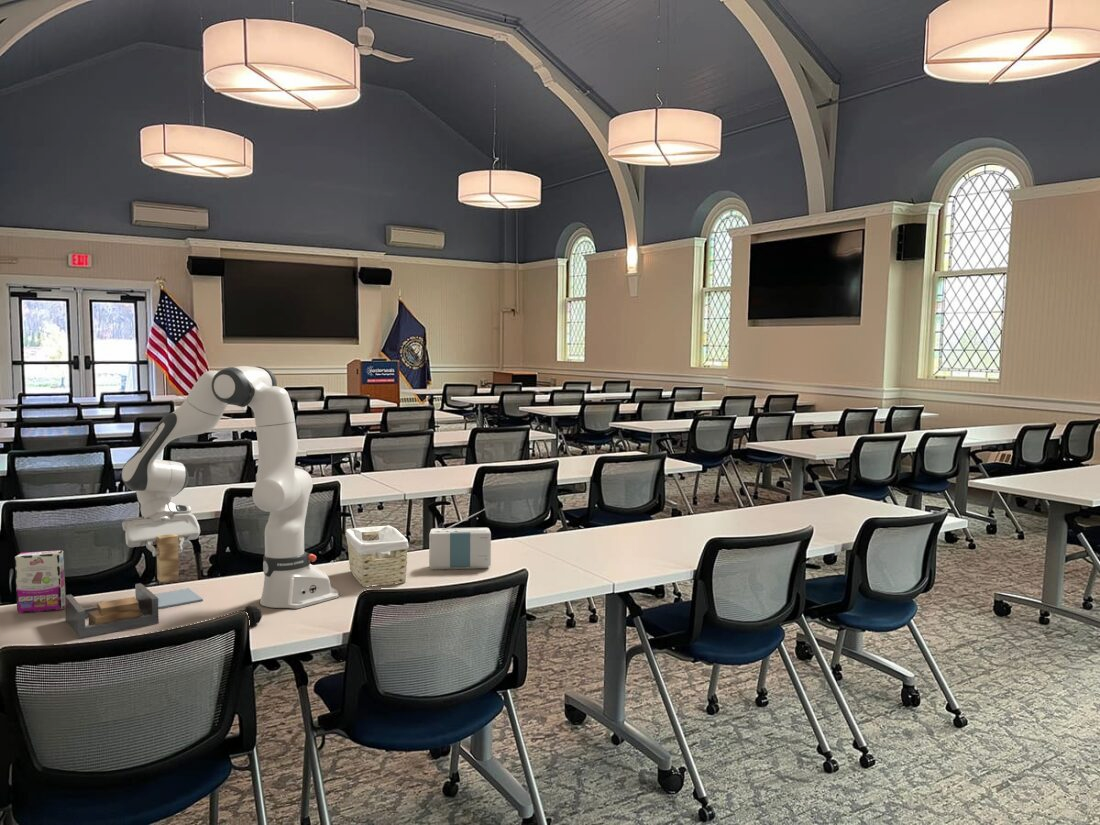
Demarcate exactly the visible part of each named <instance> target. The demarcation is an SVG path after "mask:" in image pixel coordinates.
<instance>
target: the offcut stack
mask: <svg viewBox="0 0 1100 825" xmlns="http://www.w3.org/2000/svg"><path fill="white" fill-rule="evenodd" d="M97 606H98V610H97V611H91V612H89V618H88V626H89V625H94V624H100V623H105V622H111V621H116V620H121V619H127V618H132V617H138V616H143V615H142V614H141V613H140V608H139V602H138V601H137V600H136V596H133V597H126V598H120V599H113V600H112V599H111V600H107V601H101V602H97Z"/></svg>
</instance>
